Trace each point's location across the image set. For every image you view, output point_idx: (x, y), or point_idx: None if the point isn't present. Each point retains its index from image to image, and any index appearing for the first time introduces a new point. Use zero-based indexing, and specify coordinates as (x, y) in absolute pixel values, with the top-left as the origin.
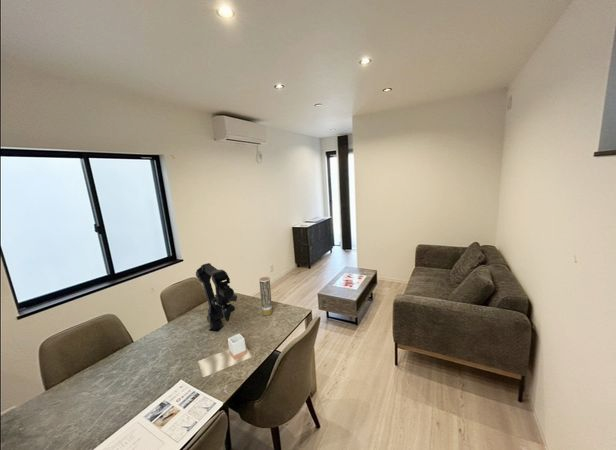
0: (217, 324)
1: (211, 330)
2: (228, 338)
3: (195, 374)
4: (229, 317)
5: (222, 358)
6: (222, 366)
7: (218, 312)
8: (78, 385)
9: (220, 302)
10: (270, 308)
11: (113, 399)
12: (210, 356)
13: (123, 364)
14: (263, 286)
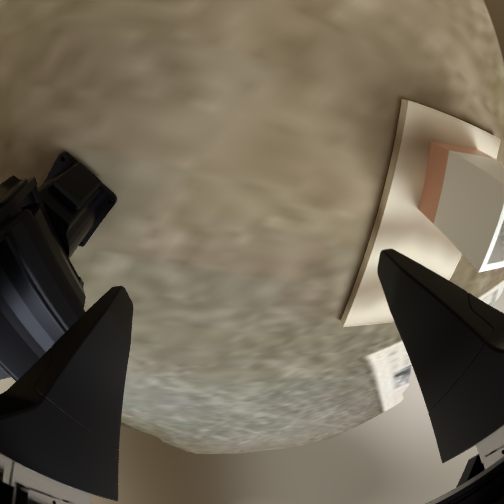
0: (79, 216)
1: (91, 234)
2: (483, 269)
3: (387, 328)
4: (441, 279)
5: (417, 247)
6: (449, 258)
7: (125, 367)
8: (212, 445)
9: None
10: None
11: (301, 424)
12: (359, 287)
13: (185, 424)
14: None
